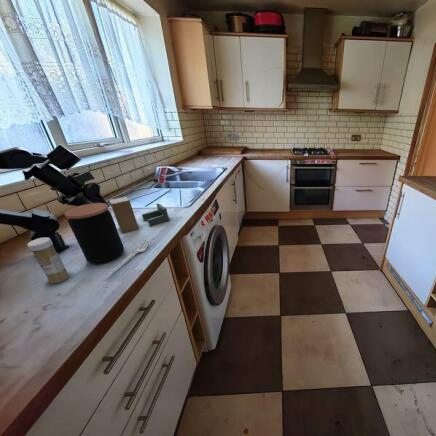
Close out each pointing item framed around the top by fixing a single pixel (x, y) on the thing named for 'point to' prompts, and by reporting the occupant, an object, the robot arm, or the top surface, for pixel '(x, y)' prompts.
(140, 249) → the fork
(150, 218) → the cradle
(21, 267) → the top surface
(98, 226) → the coffee jar
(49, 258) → the sprinkles bottle
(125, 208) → the brown box
